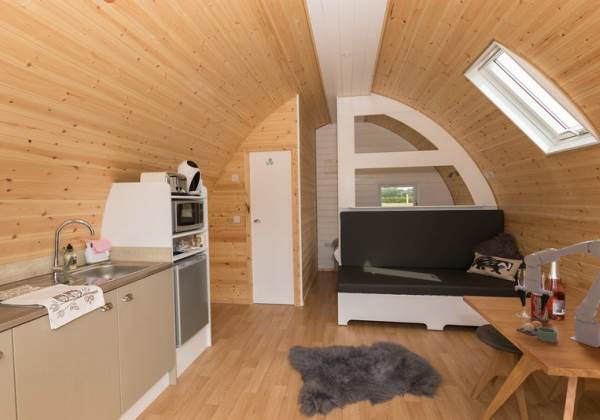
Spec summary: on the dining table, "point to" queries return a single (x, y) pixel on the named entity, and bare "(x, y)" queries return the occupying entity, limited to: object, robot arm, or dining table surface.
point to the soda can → (538, 308)
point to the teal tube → (546, 334)
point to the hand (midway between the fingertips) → (533, 308)
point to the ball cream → (528, 327)
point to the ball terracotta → (536, 324)
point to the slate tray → (528, 332)
